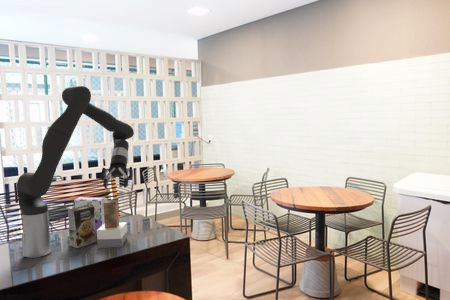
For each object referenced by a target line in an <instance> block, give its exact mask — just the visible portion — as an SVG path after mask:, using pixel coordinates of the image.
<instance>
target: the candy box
mask: <svg viewBox="0 0 450 300" xmlns="http://www.w3.org/2000/svg"><path fill="white" fill-rule="evenodd" d="M106 200H107V198H106V197H87V196H85V197H83V196H79V197H77V198H75V199H73V208H76V207H80V206H85V205H88V206H93V207H94V213H95V232H96V235H97V229H99V228H100V227H101V226H102V225H103V224H104V223H105V221H104V206H103V203H104V202H105V201H106Z"/></svg>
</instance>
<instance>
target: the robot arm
mask: <svg viewBox="0 0 450 300" xmlns="http://www.w3.org/2000/svg"><path fill="white" fill-rule="evenodd" d="M91 98H92V93H91V90H90V89H89V88H88V87H87V86H84V85H75V86H74V85H73V86H69V87H66V88H64V89H63V91H62V92H61V99H62V101H63V102H64V103H65V105H67V106H66V108H65V110H64V111H63V112H62V113H61V115H60V116H59V117H58V118H56V119H55V120H54V122H53V123H52V124H51V125H50V126H49V128H48V130H47V132H46V133H45V136H44V137H43V140H42V142H41V143H42V144H41V159H40V162H39V164H38V166H37V168H36V170H34V171H35V172H24V173H23V174H21V175H20V176H19V177H18V179H17V182H16V191H17V192H16V193H17V201H18V205H19V208H20V210H21V215H22V216H21V217H22V229H23V232H21V244H22V257H23V258H24V257H26V258H30V259H33V258H42V257H44V256H46V255H49V254H51V252H52V245H51V233H50V221H49V220H50V219H49V206H48V204H47V202H46V201H44V199H43V197H42V196H45V194H47V193H48V192H49V190H50V188H51V185H52V182H53V180H54V177H55V175H56V170H57V168H58V165H59V163H60V161H61V159H62V157H63V154H64V152H65V151H66V149H67V147H68V144H69V143H70V140H71V138H72V136H73V133H74V132H75V130H76V127H77V125H78V123H79V121H80V119H81V117H82V115H85V116H87V117H88V118H90V119H91V120H92V121H94V122H96V123H97V124H98V125H100V126H101V127H102V128H104V129H105V130H106V131H108V132H109V133H110V132H112V140H113V141H112V142H113V149H112V154H111V157H110V158H111V159H110V164H109V165H110V166H109V167H108V168H105V167H102V169H101V173H100V177H99V178H100V180H101V182H103V184H102V185H103V187H104V189H108V185H109V181H110V180H112V179H113V178H123V188H124V189H125V188H127V187H128V185H129V181H133V178H134V177H133V176H134V169H133V167H132V166H130V167H128V159H129V145H130V144H129V141H127V140H129V139H131V138H132V137H134V135H135V132H134V129H133V127H132V125H130V124H128V123H126V122H124V121H121V120H120V119H117V118H116V117H114V116H113V114H110V113H109V111H107V110H104V109H103V108H100V107H99V106H96V105H94V104H92V103H90V102H91V100H92V99H91ZM127 172H128V175H127V174H126V173H127Z"/></svg>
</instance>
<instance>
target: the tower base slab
mask: <svg viewBox="0 0 450 300" xmlns="http://www.w3.org/2000/svg"><path fill="white" fill-rule="evenodd" d="M126 241H127V232H126V233H125V235H124V236H123V237H122V238H121V239H97V238H96V243H97V249H103V248H104V249H105V248H122V247H123V246H124V244H125V242H126Z"/></svg>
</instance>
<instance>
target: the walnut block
mask: <svg viewBox="0 0 450 300" xmlns="http://www.w3.org/2000/svg"><path fill="white" fill-rule="evenodd" d="M103 206H104V221H105V228H117V227H118V225H119V222H120V217H119V216H120V215H119V200H118V199H106V201H105V202H104V203H103Z"/></svg>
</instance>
